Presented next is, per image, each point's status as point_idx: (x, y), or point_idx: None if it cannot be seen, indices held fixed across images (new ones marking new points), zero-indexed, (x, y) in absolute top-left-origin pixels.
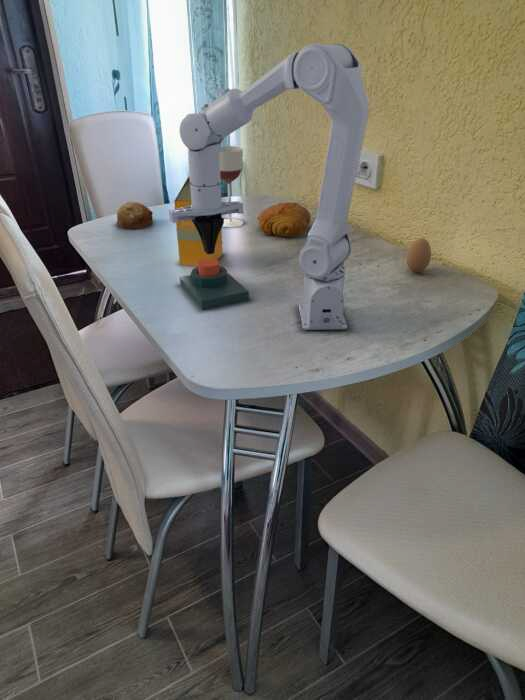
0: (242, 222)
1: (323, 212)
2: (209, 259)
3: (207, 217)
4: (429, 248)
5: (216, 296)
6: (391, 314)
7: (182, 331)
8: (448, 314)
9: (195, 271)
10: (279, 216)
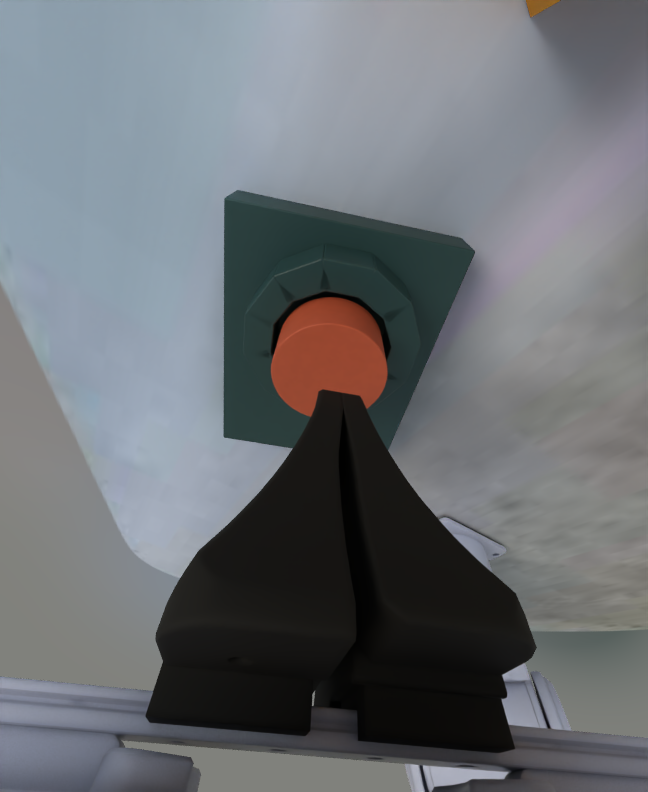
0: None
1: None
2: (357, 347)
3: (346, 678)
4: None
5: (280, 438)
6: (536, 588)
7: (149, 462)
8: (592, 616)
9: (273, 312)
10: None
